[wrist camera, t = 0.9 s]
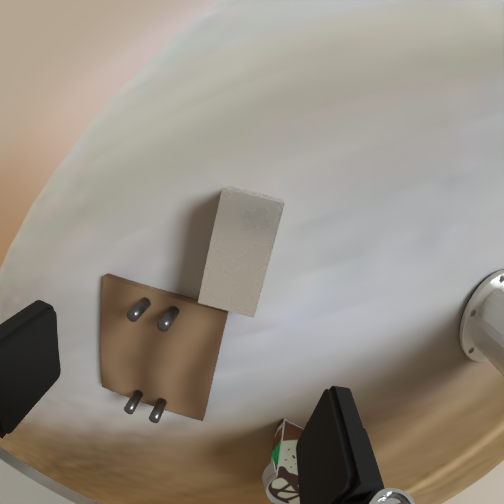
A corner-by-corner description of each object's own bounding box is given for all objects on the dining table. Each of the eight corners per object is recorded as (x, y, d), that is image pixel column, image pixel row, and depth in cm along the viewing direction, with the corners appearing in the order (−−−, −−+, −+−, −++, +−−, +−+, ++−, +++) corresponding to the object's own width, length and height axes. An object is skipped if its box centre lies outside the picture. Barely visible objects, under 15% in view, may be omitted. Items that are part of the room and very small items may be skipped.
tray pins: (180, 307, 31) (169, 322, 27) (166, 406, 34) (158, 424, 31) (140, 296, 31) (126, 309, 28) (134, 395, 34) (124, 411, 31)
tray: (228, 308, 32) (227, 313, 31) (204, 415, 36) (202, 421, 35) (108, 273, 32) (102, 276, 31) (105, 381, 36) (102, 386, 35)
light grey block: (282, 199, 29) (284, 203, 24) (257, 296, 31) (253, 317, 27) (231, 186, 29) (222, 188, 24) (209, 283, 32) (197, 302, 27)
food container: (246, 437, 36) (238, 495, 27) (274, 413, 35) (272, 474, 25) (315, 466, 37) (319, 519, 27) (344, 445, 36) (355, 500, 26)
